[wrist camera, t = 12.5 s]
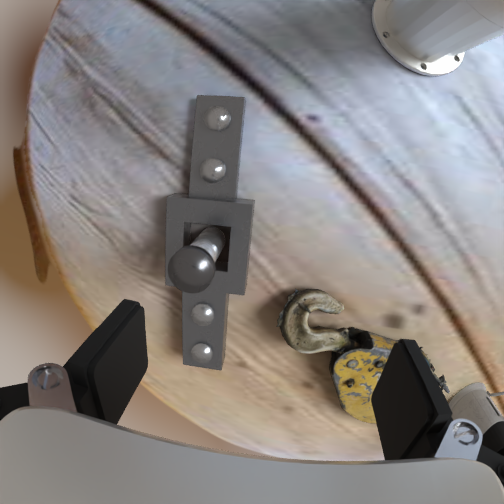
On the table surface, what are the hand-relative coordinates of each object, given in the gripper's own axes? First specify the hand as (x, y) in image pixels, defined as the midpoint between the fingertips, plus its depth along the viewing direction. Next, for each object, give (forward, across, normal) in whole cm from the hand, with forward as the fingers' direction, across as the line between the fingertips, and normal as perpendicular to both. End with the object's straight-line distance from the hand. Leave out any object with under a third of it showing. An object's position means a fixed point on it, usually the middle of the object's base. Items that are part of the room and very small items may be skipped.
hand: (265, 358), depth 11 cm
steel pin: (+25, +7, +4) cm, 26 cm away
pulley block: (+26, -15, +18) cm, 35 cm away
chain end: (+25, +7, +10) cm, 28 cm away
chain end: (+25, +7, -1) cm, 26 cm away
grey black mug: (+26, -40, +25) cm, 54 cm away
